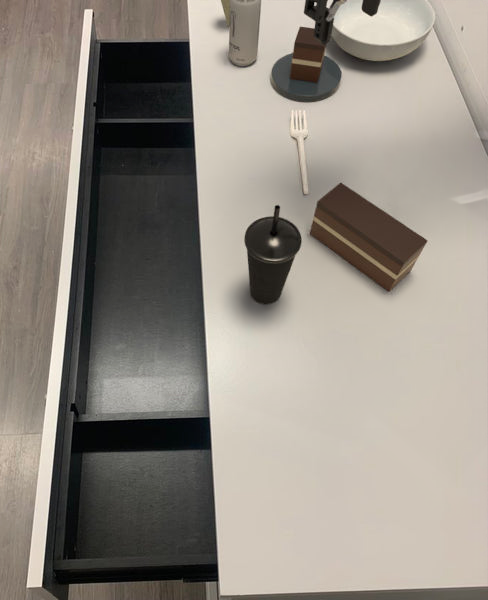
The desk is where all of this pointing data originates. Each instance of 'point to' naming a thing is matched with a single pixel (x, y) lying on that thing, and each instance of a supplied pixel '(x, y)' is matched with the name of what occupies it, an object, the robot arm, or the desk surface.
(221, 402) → the desk surface
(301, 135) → the fork
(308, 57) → the cake slice
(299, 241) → the drinking cup
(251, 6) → the energy drink can
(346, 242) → the loaf cake
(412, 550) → the desk surface
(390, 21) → the serving bowl
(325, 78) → the plate
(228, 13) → the ice cream cone
